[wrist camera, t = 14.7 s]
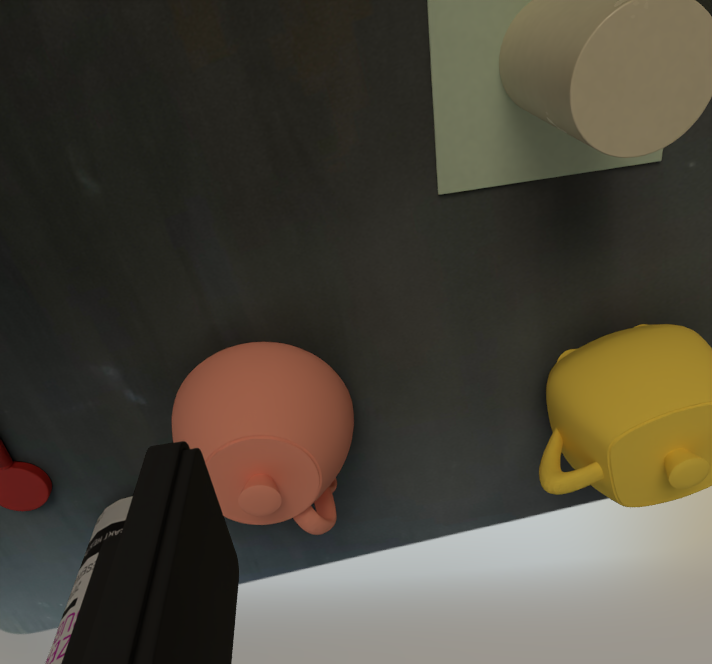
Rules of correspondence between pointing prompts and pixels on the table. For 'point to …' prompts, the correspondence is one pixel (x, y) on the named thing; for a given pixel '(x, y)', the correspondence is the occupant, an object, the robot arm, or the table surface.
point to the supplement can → (87, 573)
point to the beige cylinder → (611, 69)
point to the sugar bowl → (268, 432)
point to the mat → (492, 107)
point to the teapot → (632, 416)
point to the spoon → (22, 484)
